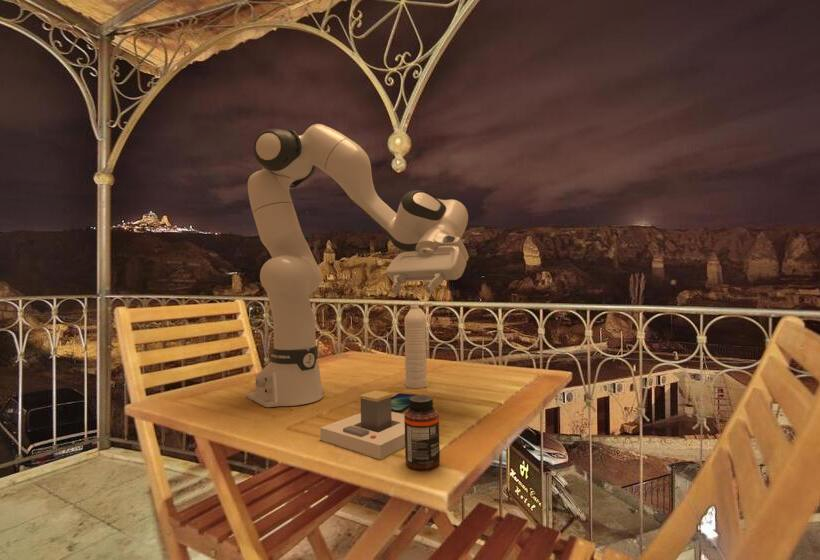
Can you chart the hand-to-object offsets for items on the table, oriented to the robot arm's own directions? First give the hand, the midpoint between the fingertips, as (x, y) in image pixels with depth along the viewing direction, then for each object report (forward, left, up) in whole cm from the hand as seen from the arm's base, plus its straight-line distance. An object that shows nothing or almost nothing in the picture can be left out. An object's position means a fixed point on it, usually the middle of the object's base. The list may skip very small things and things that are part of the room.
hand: (411, 290), depth 94 cm
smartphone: (-11, +9, -30) cm, 33 cm away
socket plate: (0, -12, -29) cm, 32 cm away
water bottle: (-17, +26, -30) cm, 43 cm away
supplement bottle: (+15, -17, -30) cm, 37 cm away
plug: (0, -12, -29) cm, 31 cm away
